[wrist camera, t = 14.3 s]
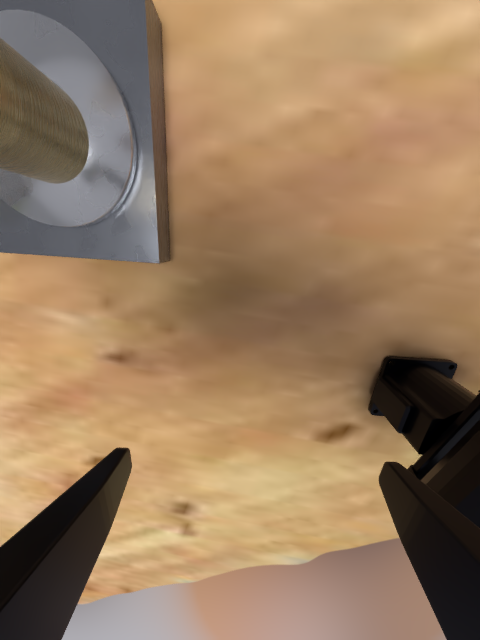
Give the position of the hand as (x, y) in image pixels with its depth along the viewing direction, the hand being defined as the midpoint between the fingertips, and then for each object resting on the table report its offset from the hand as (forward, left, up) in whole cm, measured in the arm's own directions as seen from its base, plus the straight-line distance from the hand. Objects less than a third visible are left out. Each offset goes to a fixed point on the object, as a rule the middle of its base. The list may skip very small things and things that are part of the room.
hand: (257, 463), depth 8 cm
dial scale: (+14, -12, -13) cm, 23 cm away
